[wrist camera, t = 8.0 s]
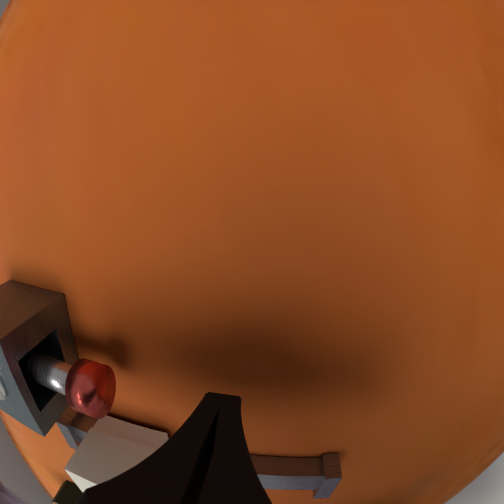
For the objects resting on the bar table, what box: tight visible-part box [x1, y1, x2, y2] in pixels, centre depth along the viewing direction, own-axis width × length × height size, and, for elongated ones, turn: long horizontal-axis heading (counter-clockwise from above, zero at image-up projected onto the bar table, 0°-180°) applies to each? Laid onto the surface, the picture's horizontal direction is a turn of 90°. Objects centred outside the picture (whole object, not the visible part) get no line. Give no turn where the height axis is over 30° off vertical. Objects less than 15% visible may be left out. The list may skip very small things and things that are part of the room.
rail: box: [56, 406, 342, 498], centre depth 14 cm, size 3×18×2 cm, turn 86°
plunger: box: [27, 352, 116, 419], centre depth 10 cm, size 3×4×3 cm, turn 86°
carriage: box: [64, 415, 168, 492], centre depth 12 cm, size 5×4×5 cm
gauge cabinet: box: [0, 280, 79, 437], centre depth 11 cm, size 6×5×5 cm
